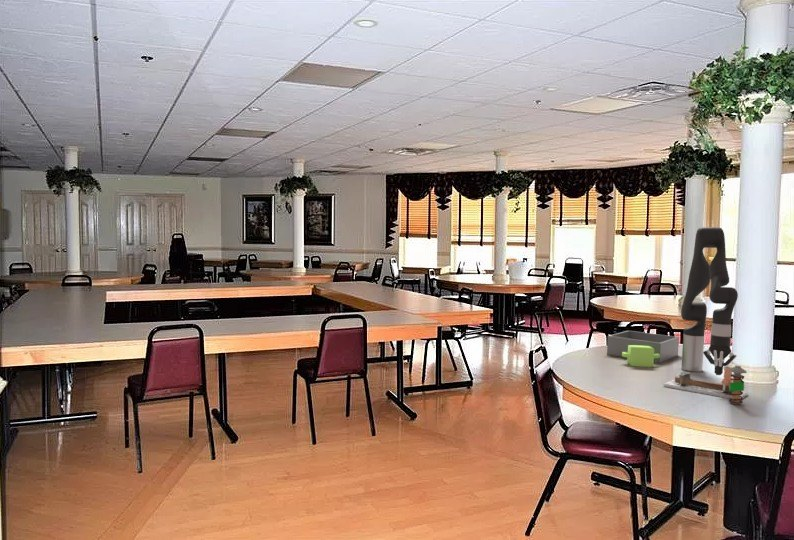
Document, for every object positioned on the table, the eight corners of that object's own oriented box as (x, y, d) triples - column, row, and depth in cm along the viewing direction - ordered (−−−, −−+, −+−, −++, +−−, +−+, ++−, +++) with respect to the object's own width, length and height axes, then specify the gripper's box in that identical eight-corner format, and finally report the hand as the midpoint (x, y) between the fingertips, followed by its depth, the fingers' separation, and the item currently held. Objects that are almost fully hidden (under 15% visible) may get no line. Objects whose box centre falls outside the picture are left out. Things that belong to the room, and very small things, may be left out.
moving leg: (724, 387, 269) (725, 366, 268) (732, 389, 267) (733, 367, 266) (719, 390, 263) (720, 368, 263) (727, 392, 261) (728, 370, 261)
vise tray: (627, 347, 364) (628, 330, 364) (678, 355, 346) (679, 337, 345) (606, 354, 344) (607, 335, 343) (659, 362, 325) (660, 343, 324)
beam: (676, 380, 282) (677, 370, 282) (741, 391, 265) (742, 381, 264) (671, 383, 276) (671, 373, 276) (736, 395, 259) (737, 384, 259)
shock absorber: (728, 400, 255) (730, 363, 254) (746, 403, 251) (748, 366, 250) (724, 403, 250) (727, 366, 249) (742, 407, 246) (745, 368, 245)
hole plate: (673, 381, 284) (673, 378, 284) (747, 395, 264) (747, 391, 264) (663, 386, 275) (663, 383, 275) (740, 400, 255) (740, 397, 255)
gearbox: (656, 363, 323) (657, 345, 323) (662, 367, 314) (663, 348, 313) (620, 361, 325) (621, 343, 325) (625, 366, 315) (626, 347, 315)
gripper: (740, 335, 266) (737, 376, 267) (706, 331, 275) (704, 370, 276) (735, 337, 260) (733, 379, 261) (701, 333, 269) (698, 373, 270)
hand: (718, 374), depth 269 cm, fingers closed
